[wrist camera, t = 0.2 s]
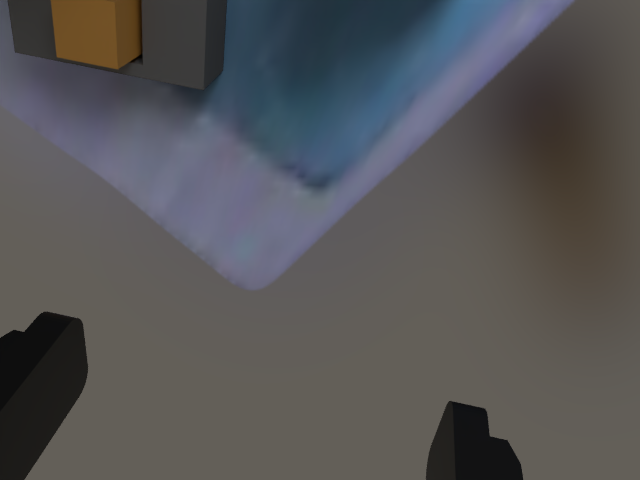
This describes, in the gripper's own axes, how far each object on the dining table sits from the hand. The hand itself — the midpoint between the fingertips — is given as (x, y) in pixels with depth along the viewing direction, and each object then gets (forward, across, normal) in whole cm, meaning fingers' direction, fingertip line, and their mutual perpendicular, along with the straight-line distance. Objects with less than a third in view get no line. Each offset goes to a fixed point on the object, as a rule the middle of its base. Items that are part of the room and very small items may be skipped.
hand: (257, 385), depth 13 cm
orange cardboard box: (+26, +15, 0) cm, 30 cm away
